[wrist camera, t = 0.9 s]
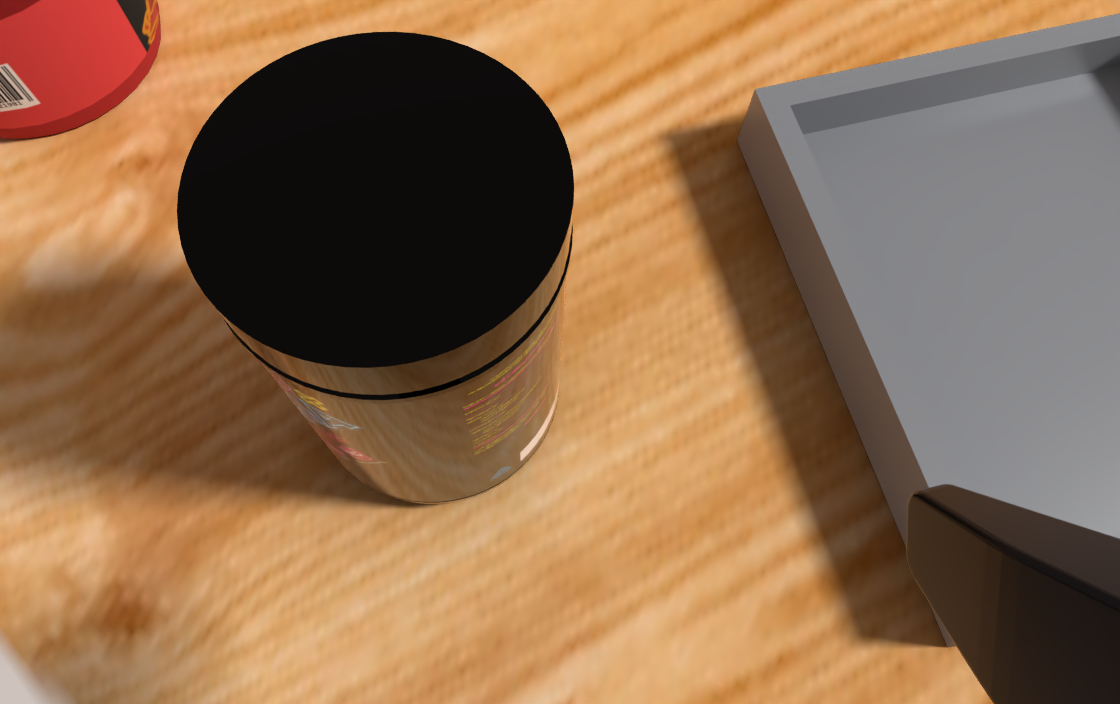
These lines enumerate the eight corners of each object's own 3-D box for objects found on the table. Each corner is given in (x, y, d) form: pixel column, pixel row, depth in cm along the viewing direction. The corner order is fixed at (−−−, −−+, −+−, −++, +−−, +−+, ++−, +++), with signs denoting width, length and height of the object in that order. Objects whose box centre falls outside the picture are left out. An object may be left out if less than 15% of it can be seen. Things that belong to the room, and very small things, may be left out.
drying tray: (1412, 507, 24) (1506, 485, 21) (947, 647, 22) (995, 640, 20) (1122, 57, 30) (1172, 2, 27) (736, 140, 28) (754, 89, 26)
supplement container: (373, 258, 26) (277, -8, 16) (589, 321, 25) (622, 84, 16) (279, 468, 23) (100, 299, 14) (516, 544, 23) (501, 423, 13)
